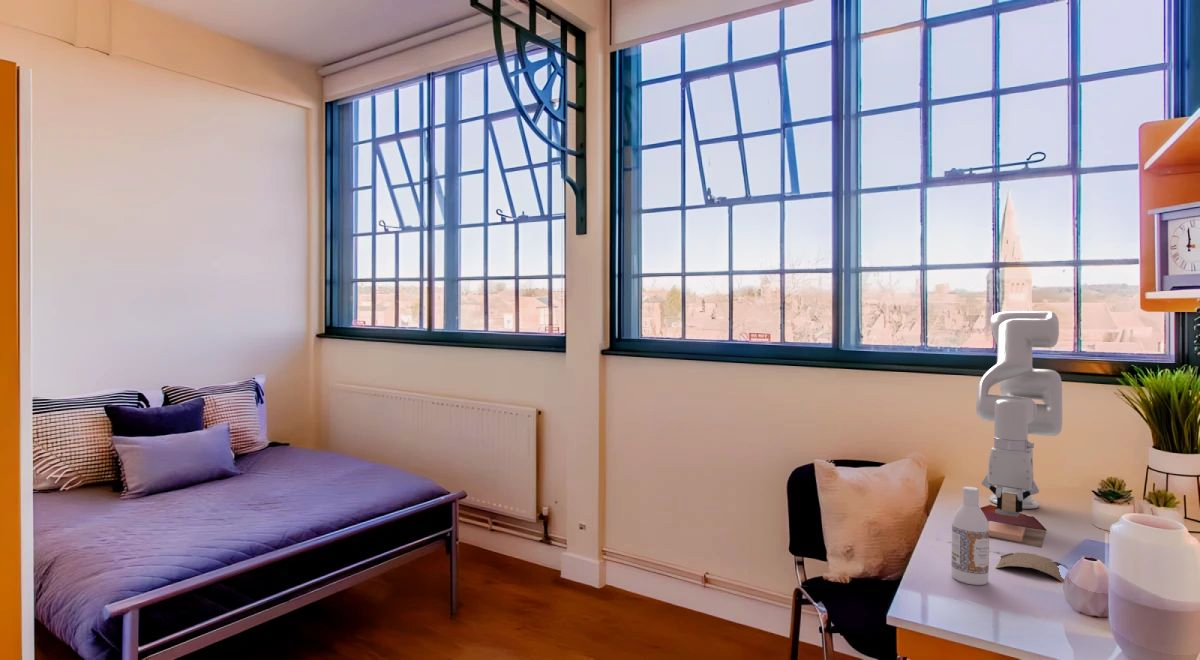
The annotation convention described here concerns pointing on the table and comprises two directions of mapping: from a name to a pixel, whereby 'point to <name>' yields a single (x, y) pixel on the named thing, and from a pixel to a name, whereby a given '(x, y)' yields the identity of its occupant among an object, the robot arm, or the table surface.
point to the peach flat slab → (1006, 531)
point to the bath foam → (970, 541)
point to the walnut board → (1029, 537)
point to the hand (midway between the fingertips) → (1009, 512)
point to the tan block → (1008, 504)
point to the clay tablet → (1031, 563)
